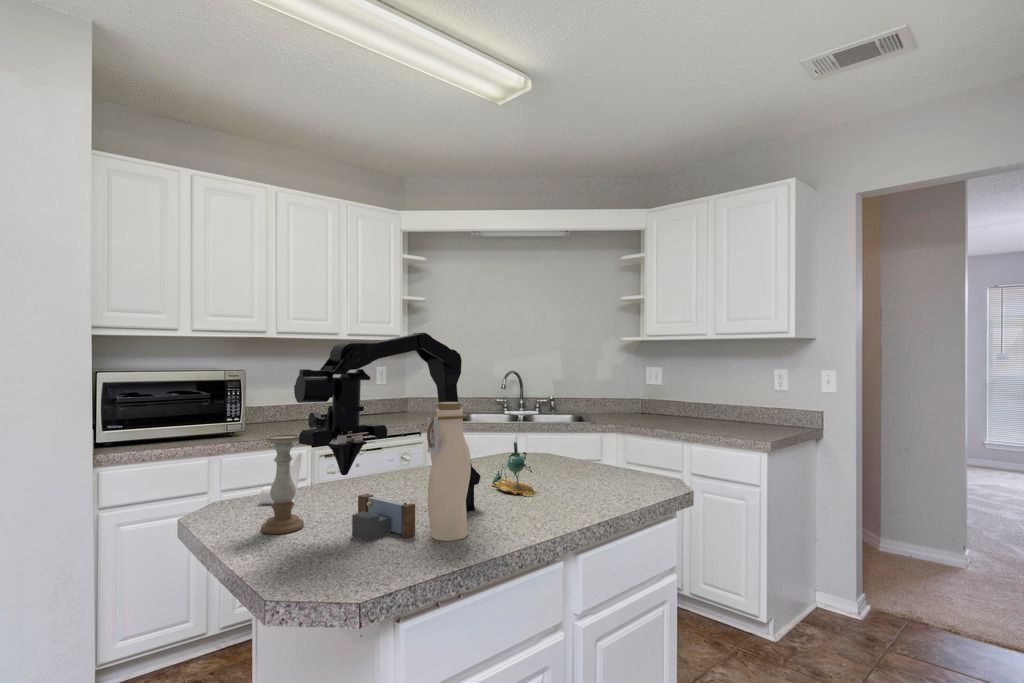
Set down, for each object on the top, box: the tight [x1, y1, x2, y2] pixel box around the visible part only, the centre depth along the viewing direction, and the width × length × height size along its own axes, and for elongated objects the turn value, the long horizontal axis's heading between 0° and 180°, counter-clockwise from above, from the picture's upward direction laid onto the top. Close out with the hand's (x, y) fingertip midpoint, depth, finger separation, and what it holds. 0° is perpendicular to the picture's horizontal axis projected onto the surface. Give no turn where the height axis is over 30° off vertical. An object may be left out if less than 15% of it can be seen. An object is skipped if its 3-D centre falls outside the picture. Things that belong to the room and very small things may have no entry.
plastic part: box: [259, 452, 303, 505], centre depth 146 cm, size 8×10×12 cm
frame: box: [357, 493, 416, 539], centre depth 121 cm, size 16×2×7 cm, turn 54°
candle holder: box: [260, 433, 305, 535], centre depth 122 cm, size 9×9×20 cm
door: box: [367, 496, 404, 535], centre depth 120 cm, size 11×2×6 cm, turn 54°
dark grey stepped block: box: [351, 512, 391, 542], centre depth 117 cm, size 5×6×5 cm
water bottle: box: [426, 401, 472, 542], centre depth 117 cm, size 10×9×28 cm
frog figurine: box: [491, 441, 535, 498], centre depth 156 cm, size 10×18×15 cm, turn 31°
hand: (344, 474), depth 118 cm, fingers closed
